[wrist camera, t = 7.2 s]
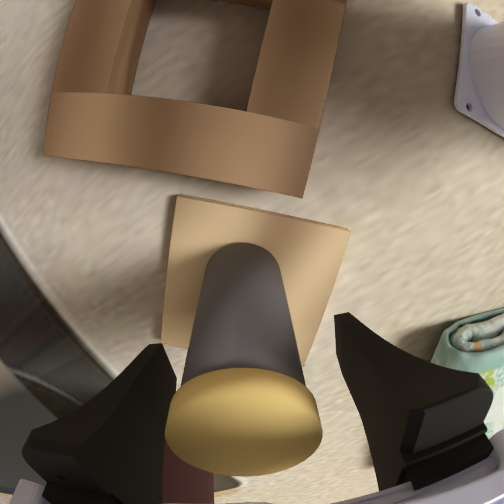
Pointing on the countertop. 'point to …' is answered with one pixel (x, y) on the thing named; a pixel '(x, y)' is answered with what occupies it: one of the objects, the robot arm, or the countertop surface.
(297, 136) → the wooden square frame
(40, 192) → the countertop surface
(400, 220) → the countertop surface
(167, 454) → the coffee cup
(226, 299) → the plug
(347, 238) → the coaster
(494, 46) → the robot arm
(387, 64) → the countertop surface
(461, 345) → the towel
